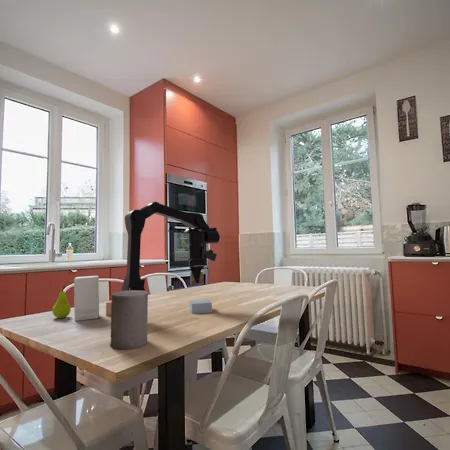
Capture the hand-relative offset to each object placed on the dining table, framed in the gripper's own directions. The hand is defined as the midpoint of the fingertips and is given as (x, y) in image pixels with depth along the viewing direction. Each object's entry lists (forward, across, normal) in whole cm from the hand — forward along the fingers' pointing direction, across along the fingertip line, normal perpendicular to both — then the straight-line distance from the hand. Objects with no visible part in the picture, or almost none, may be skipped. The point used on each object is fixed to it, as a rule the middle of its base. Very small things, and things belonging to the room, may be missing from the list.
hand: (197, 282), depth 125 cm
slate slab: (+12, 0, -1) cm, 12 cm away
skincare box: (+11, -3, +42) cm, 44 cm away
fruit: (+11, 0, +52) cm, 53 cm away
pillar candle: (+11, -39, +21) cm, 46 cm away
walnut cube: (+1, 0, 0) cm, 1 cm away
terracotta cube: (+11, +3, +34) cm, 36 cm away
